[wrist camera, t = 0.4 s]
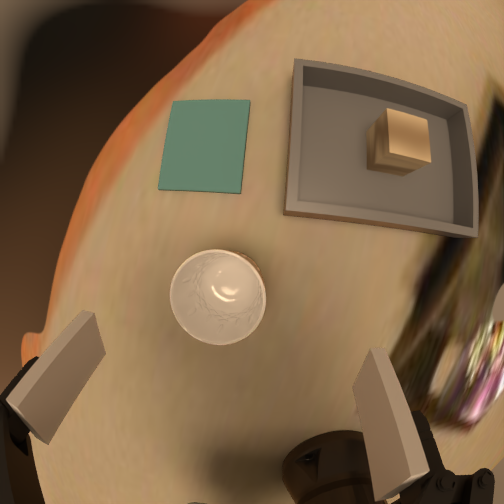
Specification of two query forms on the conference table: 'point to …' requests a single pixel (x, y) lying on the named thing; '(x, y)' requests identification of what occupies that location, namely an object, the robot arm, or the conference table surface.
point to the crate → (355, 154)
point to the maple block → (398, 143)
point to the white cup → (218, 296)
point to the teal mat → (205, 146)
